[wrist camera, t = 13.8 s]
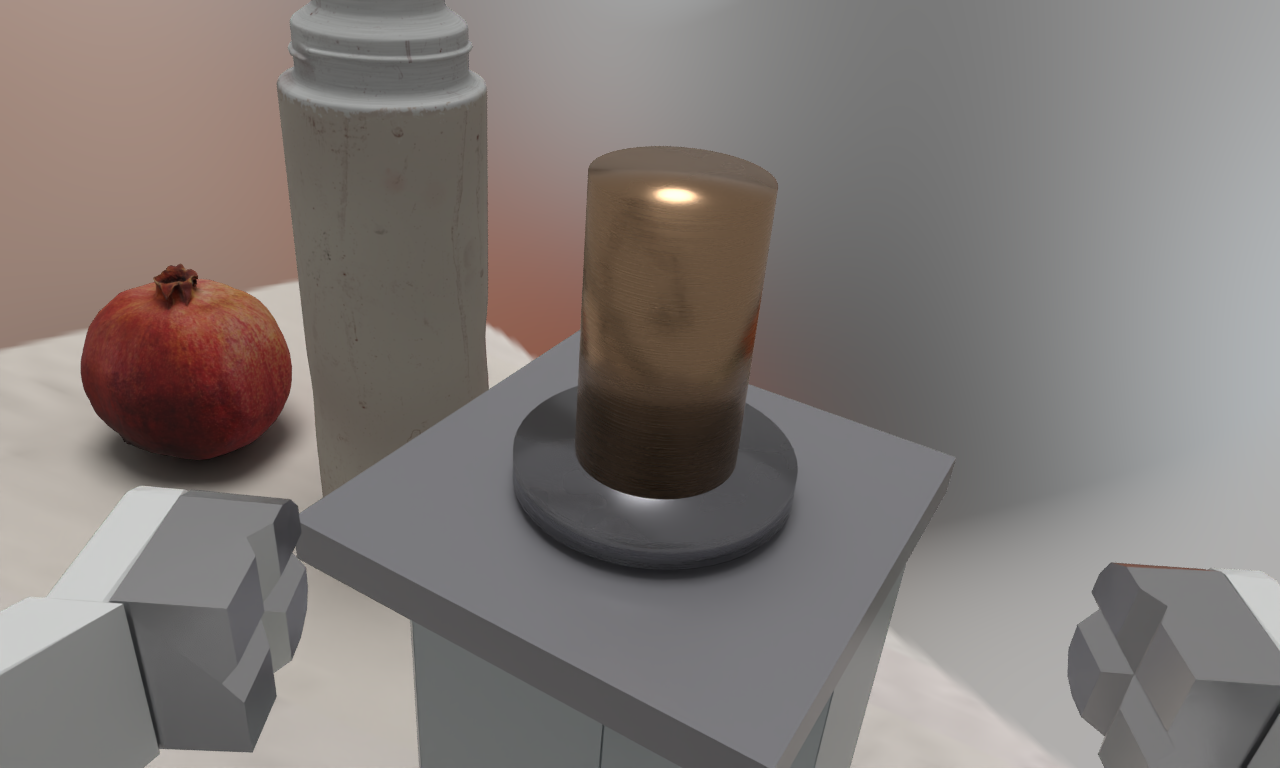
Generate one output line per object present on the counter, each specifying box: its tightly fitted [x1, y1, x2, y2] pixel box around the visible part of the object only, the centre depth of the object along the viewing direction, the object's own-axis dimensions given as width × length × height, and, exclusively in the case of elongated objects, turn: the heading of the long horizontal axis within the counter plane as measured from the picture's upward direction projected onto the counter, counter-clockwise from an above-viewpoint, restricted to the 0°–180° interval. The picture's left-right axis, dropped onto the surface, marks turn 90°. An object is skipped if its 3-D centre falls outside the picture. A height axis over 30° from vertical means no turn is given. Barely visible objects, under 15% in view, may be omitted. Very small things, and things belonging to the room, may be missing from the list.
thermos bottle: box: [277, 0, 489, 498], centre depth 43 cm, size 8×8×28 cm
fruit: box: [81, 264, 292, 460], centre depth 53 cm, size 11×10×10 cm
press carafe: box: [296, 330, 956, 768], centre depth 31 cm, size 17×14×18 cm
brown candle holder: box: [513, 146, 798, 570], centre depth 26 cm, size 10×10×19 cm
